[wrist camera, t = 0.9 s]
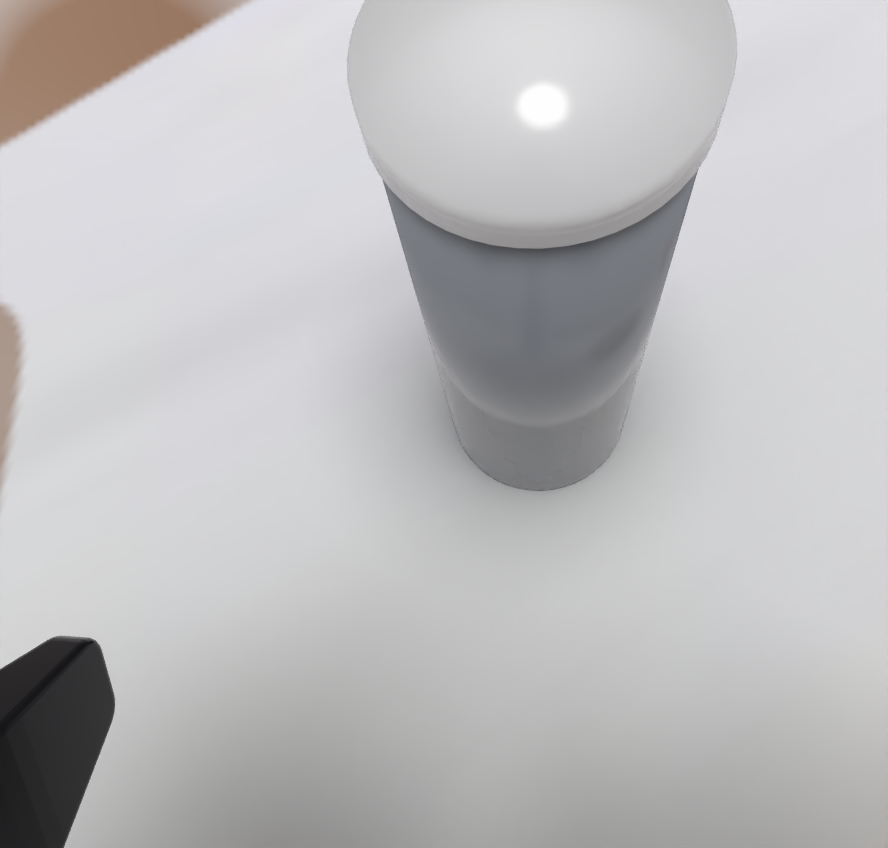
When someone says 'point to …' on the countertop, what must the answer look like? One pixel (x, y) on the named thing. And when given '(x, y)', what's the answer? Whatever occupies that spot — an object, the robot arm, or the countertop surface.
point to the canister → (539, 199)
